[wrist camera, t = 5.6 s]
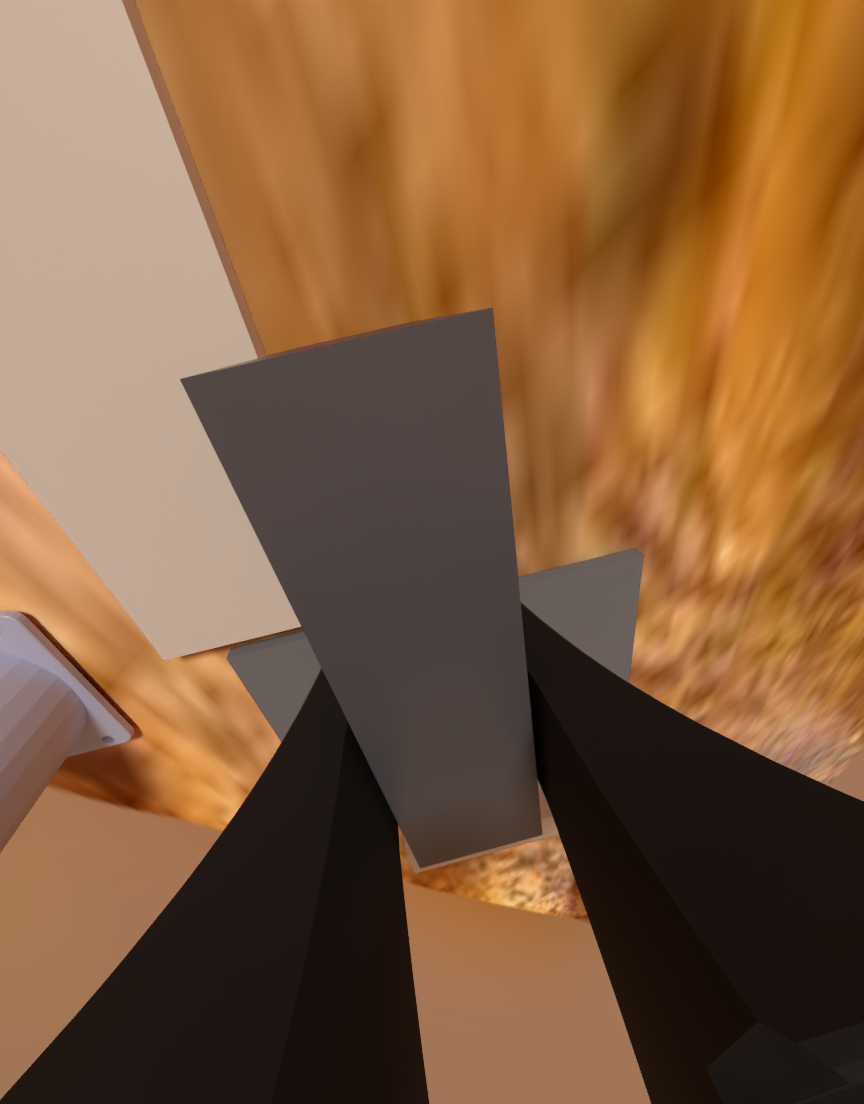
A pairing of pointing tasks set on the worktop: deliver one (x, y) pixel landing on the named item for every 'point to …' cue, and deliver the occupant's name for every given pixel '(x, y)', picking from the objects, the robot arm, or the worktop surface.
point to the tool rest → (120, 327)
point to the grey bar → (397, 559)
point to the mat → (553, 595)
